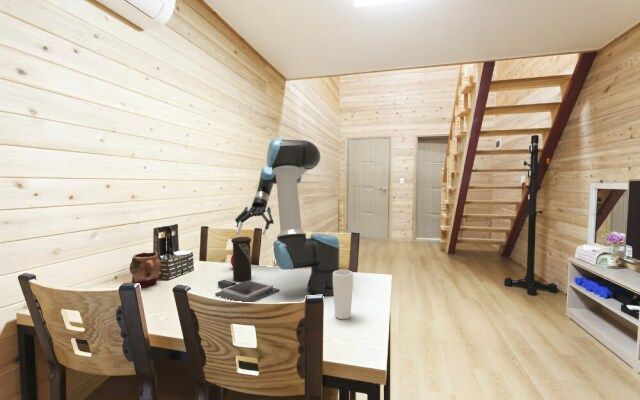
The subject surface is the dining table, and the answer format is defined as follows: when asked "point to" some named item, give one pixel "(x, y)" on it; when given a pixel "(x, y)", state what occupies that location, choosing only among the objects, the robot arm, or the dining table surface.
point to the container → (241, 259)
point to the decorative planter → (145, 269)
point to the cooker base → (245, 290)
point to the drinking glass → (342, 293)
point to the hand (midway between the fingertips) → (250, 233)
